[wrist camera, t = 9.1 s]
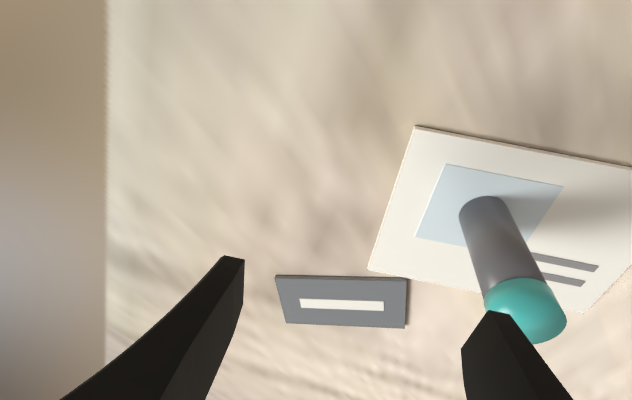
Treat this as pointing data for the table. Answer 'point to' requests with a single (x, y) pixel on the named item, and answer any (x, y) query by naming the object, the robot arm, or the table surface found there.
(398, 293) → the plate
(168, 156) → the table surface
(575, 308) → the paper
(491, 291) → the marker
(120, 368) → the robot arm
